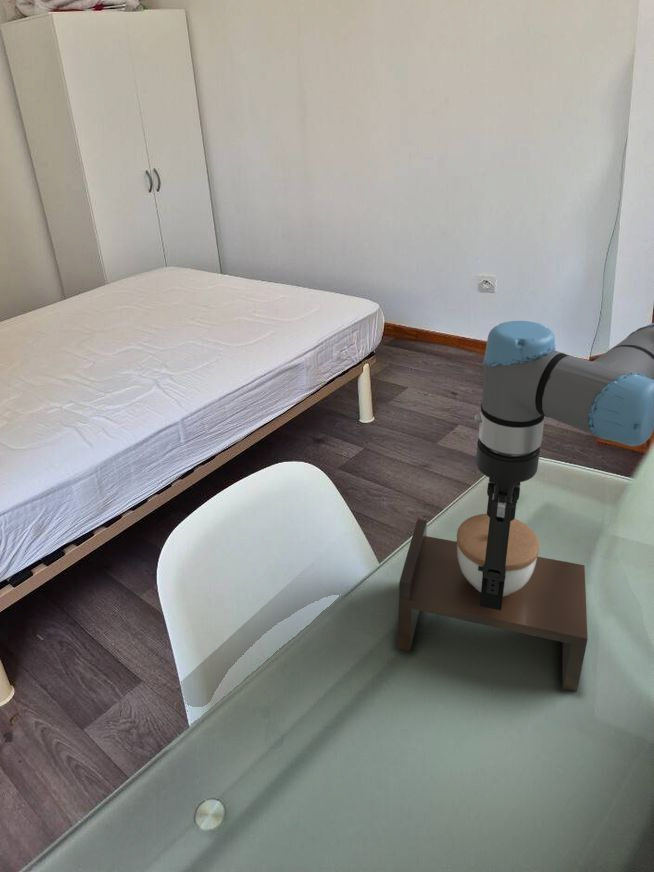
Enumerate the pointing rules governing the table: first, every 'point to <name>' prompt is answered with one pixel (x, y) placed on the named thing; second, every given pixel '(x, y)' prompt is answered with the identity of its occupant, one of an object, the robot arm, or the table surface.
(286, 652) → the table surface
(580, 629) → the shelf
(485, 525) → the trinket box
